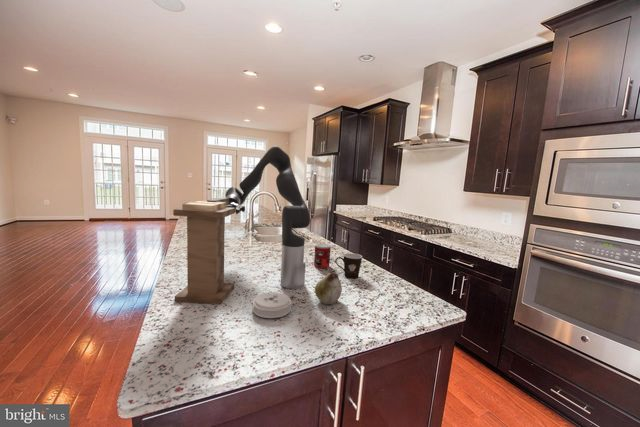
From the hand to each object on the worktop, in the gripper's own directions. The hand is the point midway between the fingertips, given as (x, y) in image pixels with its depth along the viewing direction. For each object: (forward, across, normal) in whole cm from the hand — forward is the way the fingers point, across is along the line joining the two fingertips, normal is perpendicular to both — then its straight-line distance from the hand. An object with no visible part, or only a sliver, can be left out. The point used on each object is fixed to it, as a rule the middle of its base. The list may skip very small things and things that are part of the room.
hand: (226, 211), depth 114 cm
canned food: (-10, +44, +32) cm, 55 cm away
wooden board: (+11, -3, -5) cm, 13 cm away
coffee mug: (+4, +54, +31) cm, 63 cm away
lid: (+35, +19, +26) cm, 47 cm away
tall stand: (+21, -5, +26) cm, 34 cm away
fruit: (+30, +39, +27) cm, 56 cm away
